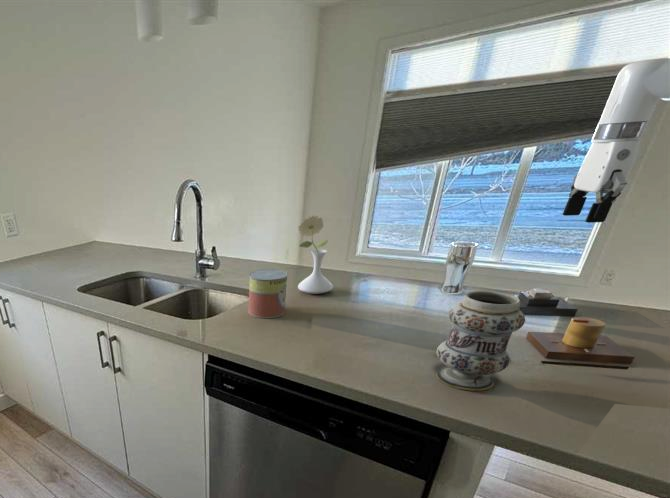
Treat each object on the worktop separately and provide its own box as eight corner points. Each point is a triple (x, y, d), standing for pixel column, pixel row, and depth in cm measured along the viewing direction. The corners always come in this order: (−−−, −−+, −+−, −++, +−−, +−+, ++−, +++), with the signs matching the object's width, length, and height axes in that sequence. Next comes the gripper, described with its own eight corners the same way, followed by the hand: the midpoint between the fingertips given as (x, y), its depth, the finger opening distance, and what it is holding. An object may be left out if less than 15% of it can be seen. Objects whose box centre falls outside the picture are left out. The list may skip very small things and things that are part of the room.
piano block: (557, 304, 115) (563, 290, 113) (574, 317, 107) (581, 302, 105) (497, 302, 119) (502, 289, 117) (509, 314, 111) (514, 300, 109)
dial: (587, 338, 90) (598, 316, 87) (599, 348, 85) (611, 325, 83) (557, 337, 91) (567, 315, 89) (568, 347, 87) (579, 324, 85)
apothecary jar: (509, 379, 84) (544, 295, 74) (484, 401, 78) (518, 313, 69) (445, 361, 92) (469, 283, 83) (419, 378, 87) (441, 298, 78)
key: (544, 295, 112) (546, 288, 111) (549, 299, 109) (552, 292, 108) (528, 294, 113) (530, 288, 112) (533, 298, 110) (535, 292, 109)
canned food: (278, 320, 121) (281, 280, 115) (243, 315, 127) (243, 278, 121) (289, 307, 129) (292, 270, 123) (255, 304, 135) (256, 268, 129)
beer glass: (434, 293, 130) (447, 245, 123) (441, 287, 134) (454, 240, 126) (459, 296, 125) (474, 247, 118) (466, 290, 129) (481, 242, 122)
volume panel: (599, 347, 92) (605, 334, 90) (627, 369, 83) (635, 356, 82) (523, 343, 97) (528, 330, 95) (543, 363, 88) (548, 350, 86)
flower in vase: (333, 287, 143) (343, 211, 131) (330, 297, 134) (341, 217, 122) (295, 285, 148) (301, 213, 136) (290, 295, 139) (296, 218, 127)
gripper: (671, 131, 78) (626, 224, 86) (615, 131, 92) (581, 212, 100) (622, 134, 80) (582, 225, 89) (574, 134, 94) (544, 213, 103)
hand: (582, 218), depth 95 cm, fingers open, 9 cm apart
